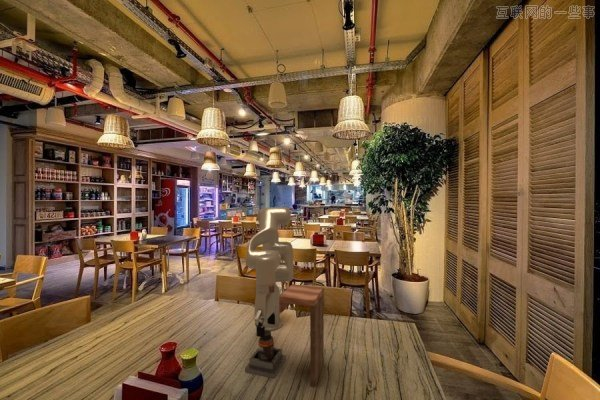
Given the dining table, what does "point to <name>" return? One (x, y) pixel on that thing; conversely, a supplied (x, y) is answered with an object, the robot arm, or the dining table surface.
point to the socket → (266, 364)
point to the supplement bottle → (266, 347)
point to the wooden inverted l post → (316, 302)
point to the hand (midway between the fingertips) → (266, 329)
